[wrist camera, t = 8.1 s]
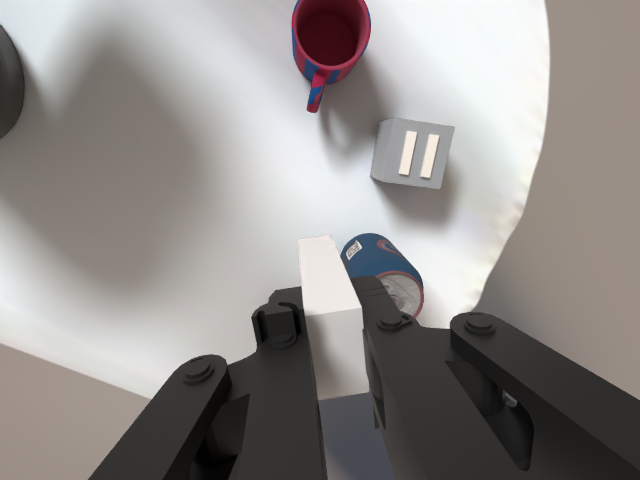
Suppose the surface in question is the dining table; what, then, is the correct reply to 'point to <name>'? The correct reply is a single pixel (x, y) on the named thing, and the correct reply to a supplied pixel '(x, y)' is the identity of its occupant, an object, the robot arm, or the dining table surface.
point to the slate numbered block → (411, 152)
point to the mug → (328, 41)
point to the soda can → (385, 270)
